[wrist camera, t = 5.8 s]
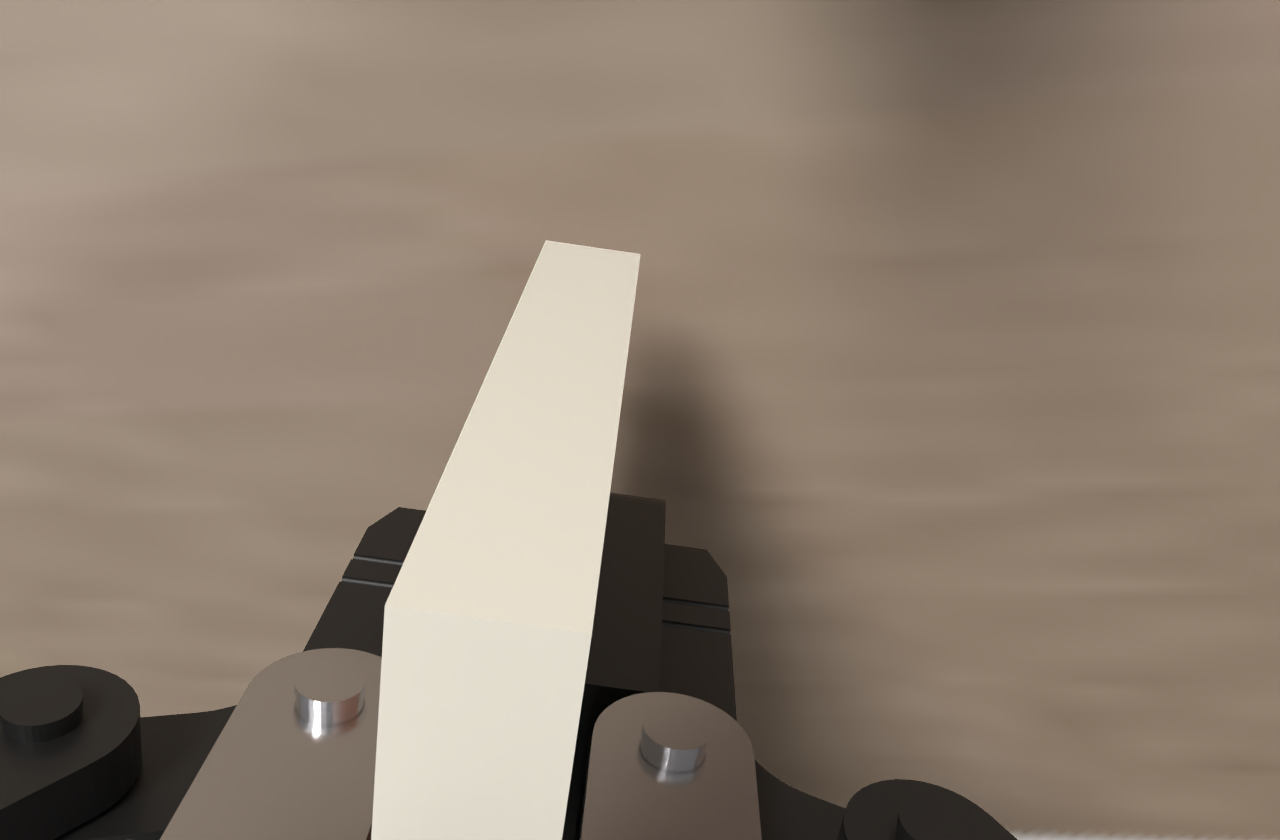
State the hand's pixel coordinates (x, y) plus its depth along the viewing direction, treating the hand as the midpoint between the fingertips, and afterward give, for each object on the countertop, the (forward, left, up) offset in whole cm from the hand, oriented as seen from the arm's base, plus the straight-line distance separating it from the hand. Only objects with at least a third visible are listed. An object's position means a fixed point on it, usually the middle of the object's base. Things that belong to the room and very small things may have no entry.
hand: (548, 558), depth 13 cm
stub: (0, 0, -1) cm, 1 cm away
